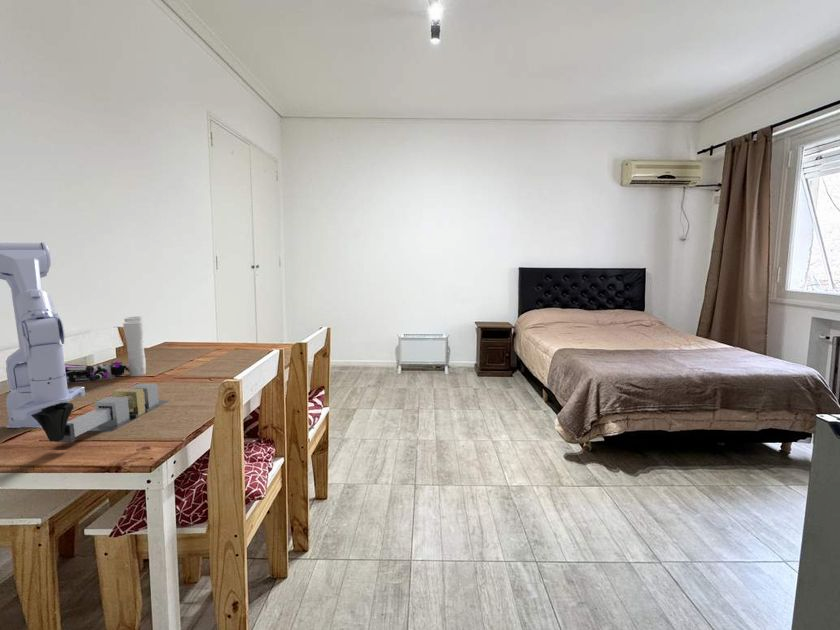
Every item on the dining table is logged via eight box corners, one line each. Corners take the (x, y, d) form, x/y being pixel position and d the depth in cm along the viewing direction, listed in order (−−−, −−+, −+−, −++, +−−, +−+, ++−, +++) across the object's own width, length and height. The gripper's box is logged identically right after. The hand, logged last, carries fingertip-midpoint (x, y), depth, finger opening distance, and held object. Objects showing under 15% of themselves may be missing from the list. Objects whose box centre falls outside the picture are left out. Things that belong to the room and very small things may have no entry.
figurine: (47, 357, 151) (142, 354, 158) (48, 378, 152) (143, 373, 159) (2, 370, 128) (115, 365, 136) (3, 394, 129) (116, 387, 136)
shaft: (54, 441, 95) (52, 424, 94) (121, 409, 113) (119, 395, 113) (71, 442, 94) (69, 425, 94) (135, 410, 113) (134, 395, 112)
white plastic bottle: (129, 365, 163) (124, 317, 160) (147, 363, 166) (142, 316, 163) (128, 377, 149) (122, 324, 146) (147, 375, 151) (142, 322, 149)
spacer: (114, 415, 113) (111, 391, 112) (122, 412, 115) (119, 388, 114) (138, 416, 112) (136, 391, 111) (145, 412, 115) (143, 388, 114)
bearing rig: (83, 432, 104) (80, 406, 103) (145, 402, 125) (143, 379, 124) (111, 433, 103) (108, 407, 102) (169, 402, 124) (167, 380, 123)
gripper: (32, 388, 83) (42, 456, 85) (95, 367, 98) (101, 426, 100) (-2, 387, 84) (8, 455, 86) (65, 367, 98) (72, 425, 100)
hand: (56, 440), depth 93 cm, fingers closed
